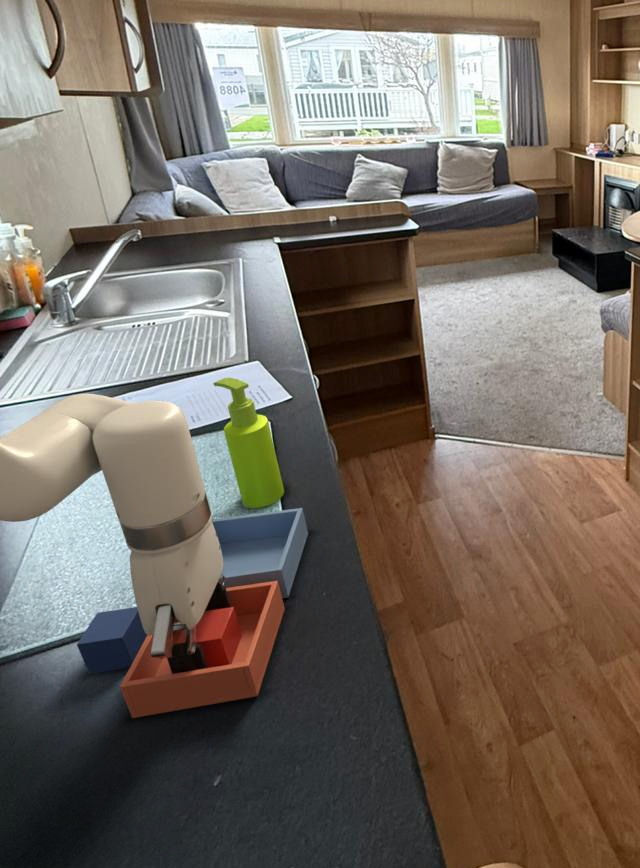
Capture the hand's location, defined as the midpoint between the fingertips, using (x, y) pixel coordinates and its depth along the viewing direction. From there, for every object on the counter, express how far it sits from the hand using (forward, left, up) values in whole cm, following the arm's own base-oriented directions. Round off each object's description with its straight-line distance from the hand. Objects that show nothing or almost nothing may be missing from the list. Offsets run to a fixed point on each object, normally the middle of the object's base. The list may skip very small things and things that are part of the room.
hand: (204, 643), depth 73 cm
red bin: (+1, 0, -2) cm, 3 cm away
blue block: (-10, +3, -2) cm, 11 cm away
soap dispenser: (-2, +31, -3) cm, 31 cm away
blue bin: (+1, +14, -2) cm, 14 cm away
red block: (+1, 0, -2) cm, 2 cm away
